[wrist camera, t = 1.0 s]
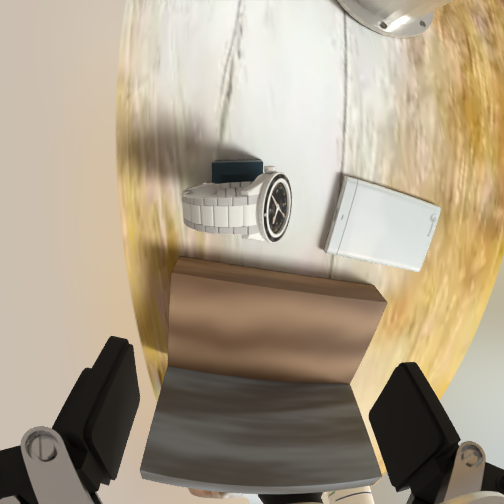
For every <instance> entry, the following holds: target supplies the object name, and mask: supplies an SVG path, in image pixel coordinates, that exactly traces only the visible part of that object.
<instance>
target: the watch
mask: <svg viewBox="0 0 504 504" xmlns="http://www.w3.org/2000/svg"><path fill="white" fill-rule="evenodd" d="M264 172H267V173H263V161H262V160H215V161H214V162H212V183H202V185H198V186H194V187H191V188H188V189H185V190H184V191H183V194H182V202H183V217H184V223H185V225H187V226H188V227H190V228H192V229H195V230H197V231H200V232H206V233H212V234H226V235H233V234H235V235H242V238H245V239H253V240H262V241H267V242H269V243H276V242H278V241H279V240H280V239H281V238H282V236H283V235H284V233H285V231H286V229H287V226H288V223H289V219H290V214H291V205H292V195H291V187H290V183H289V180H288V178H287V176H286V175H285V174H284V173H282V172H276V166H265V167H264ZM274 172H275V173H274ZM228 225H229V226H228Z"/></svg>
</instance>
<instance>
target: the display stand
mask: <svg viewBox="0 0 504 504" xmlns="http://www.w3.org/2000/svg"><path fill="white" fill-rule="evenodd" d="M386 305H387V301H386V300H385V299H384V297H383V296H382V295H381V294H380V292H379V291H378V290H377V289H376V287H375V286H374V285H367V284H360V283H353V282H346V281H339V280H332V279H325V278H318V277H311V276H304V275H298V274H291V273H284V272H277V271H271V270H264V269H258V268H251V267H245V266H238V265H232V264H225V263H219V262H213V261H207V260H200V259H194V258H188V257H182V256H180V257H179V259H178V261H177V263H176V265H175V266H174V268H173V270H172V272H171V286H170V305H169V330H168V367H167V370H166V374H165V377H164V381H163V384H162V388H161V391H160V395H159V398H158V402H157V406H156V410H155V413H154V417H153V421H152V424H151V428H150V432H149V435H148V439H147V443H146V447H145V451H144V455H143V459H142V463H141V467H140V472H141V476H142V478H143V479H146V480H151V481H155V482H160V483H165V484H170V485H175V486H181V487H187V488H194V489H201V490H209V491H219V492H230V493H246V494H300V493H316V492H327V491H336V490H344V489H352V488H358V487H364V486H370V485H374V484H375V483H376V482H377V481H378V480H379V479H380V478H381V477H382V474H381V471H380V468H379V465H378V462H377V459H376V456H375V453H374V450H373V447H372V444H371V441H370V438H369V436H368V433H367V430H366V427H365V424H364V421H363V419H362V416H361V413H360V410H359V408H358V405H357V402H356V399H355V397H354V394H353V391H352V389H351V386H350V382H351V380H352V379H353V377H354V375H355V373H356V371H357V369H358V367H359V365H360V363H361V361H362V359H363V357H364V355H365V353H366V350H367V348H368V346H369V344H370V342H371V340H372V338H373V335H374V333H375V331H376V329H377V326H378V324H379V322H380V319H381V317H382V315H383V312H384V310H385V308H386Z"/></svg>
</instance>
